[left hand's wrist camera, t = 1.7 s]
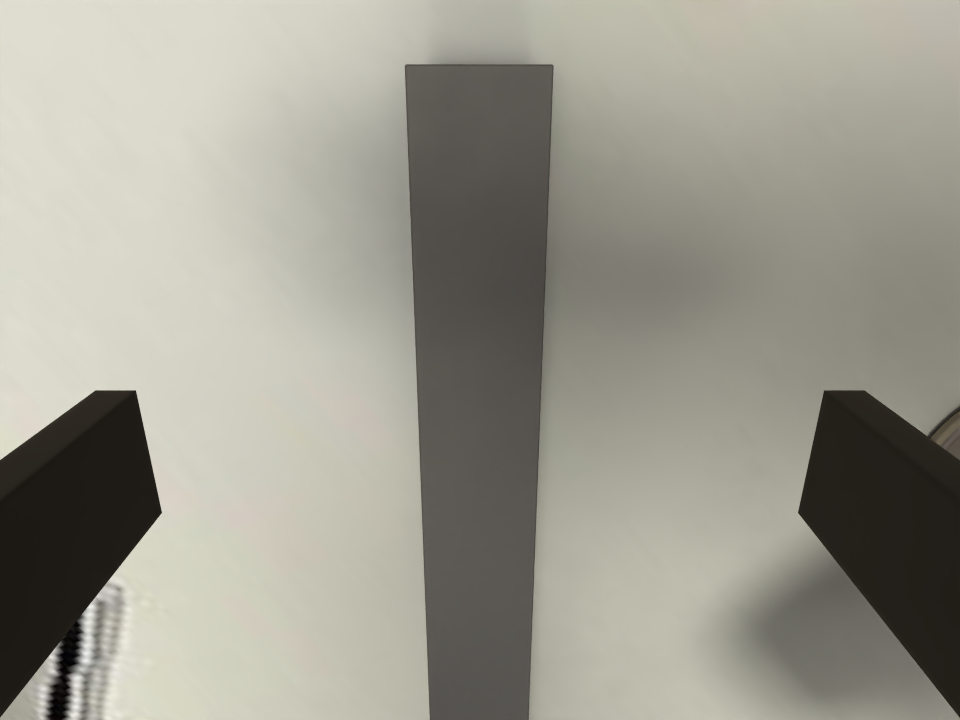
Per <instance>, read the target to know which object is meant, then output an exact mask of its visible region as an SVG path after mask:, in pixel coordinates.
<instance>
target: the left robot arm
mask: <svg viewBox="0 0 960 720" xmlns="http://www.w3.org/2000/svg"><path fill="white" fill-rule="evenodd" d="M161 513H162V511H161V506H160V502H159V497H158V492H157V488H156V483H155V478H154V474H153V469H152V464H151V460H150V455H149V450H148V445H147V441H146V436H145V431H144V427H143V422H142V417H141V413H140V408H139V403H138V399H137V394H136V391H94V392H93V393H92V394H90V395H89V396H87V397H86V398H85V399H83V400H82V401H81V402H79V403H78V404H77V405H75V406H74V407H72V408H71V409H70V410H68V411H67V412H66V413H64V414H63V415H61V416H60V417H59V418H57V419H56V420H55V421H53V422H52V423H50V424H49V425H48V426H46V427H45V428H44V429H42V430H41V431H40V432H38V433H37V434H35V435H34V436H33V437H31V438H30V439H29V440H27V441H26V442H24V443H23V444H22V445H20V446H19V447H18V448H16V449H15V450H13V451H12V452H11V453H9V454H8V455H7V456H5V457H4V458H3V459H1V460H0V717H1V716H2V715H3V713H4V712H5V711H6V709H7V708H8V707H9V706H10V704H11V703H12V702H13V701H14V699H15V698H16V697H17V696H18V694H19V693H20V692H21V690H22V689H23V688H24V687H25V685H26V684H27V683H28V682H29V680H30V679H31V678H32V677H33V675H34V674H35V673H36V671H37V670H38V669H39V668H40V666H41V665H42V664H43V663H44V661H45V660H46V659H47V658H48V656H49V655H50V654H51V652H52V651H53V650H54V649H55V647H56V646H57V645H58V644H59V642H60V641H61V640H62V639H63V637H64V636H65V635H66V633H67V632H68V631H69V630H70V628H71V627H72V626H73V625H74V623H75V622H76V621H77V620H78V618H79V617H80V616H81V615H82V613H83V612H84V611H85V609H86V608H87V607H88V606H89V604H90V603H91V602H92V601H93V599H94V598H95V597H96V596H97V594H98V593H99V592H100V590H101V589H102V588H103V587H104V585H105V584H106V583H107V582H108V580H109V579H110V578H111V577H112V575H113V574H114V573H115V571H116V570H117V569H118V568H119V566H120V565H121V564H122V563H123V561H124V560H125V559H126V558H127V556H128V555H129V554H130V552H131V551H132V550H133V549H134V547H135V546H136V545H137V544H138V542H139V541H140V540H141V539H142V537H143V536H144V535H145V533H146V532H147V531H148V530H149V528H150V527H151V526H152V525H153V523H154V522H155V521H156V520H157V518H158V517H159V516H160V514H161ZM798 513H799V514H800V516H801V517H802V518H803V520H804V521H805V522H806V523H807V525H808V526H809V527H810V528H811V530H812V531H813V532H814V533H815V535H816V536H817V537H818V539H819V540H820V541H821V542H822V544H823V545H824V546H825V547H826V549H827V550H828V551H829V552H830V554H831V555H832V556H833V558H834V559H835V560H836V561H837V563H838V564H839V565H840V566H841V568H842V569H843V570H844V571H845V573H846V574H847V575H848V577H849V578H850V579H851V580H852V582H853V583H854V584H855V585H856V587H857V588H858V589H859V590H860V592H861V593H862V594H863V596H864V597H865V598H866V599H867V601H868V602H869V603H870V604H871V606H872V607H873V608H874V609H875V611H876V612H877V613H878V615H879V616H880V617H881V618H882V620H883V621H884V622H885V623H886V625H887V626H888V627H889V628H890V630H891V631H892V632H893V633H894V635H895V636H896V637H897V639H898V640H899V641H900V642H901V644H902V645H903V646H904V647H905V649H906V650H907V651H908V652H909V654H910V655H911V656H912V658H913V659H914V660H915V661H916V663H917V664H918V665H919V666H920V668H921V669H922V670H923V671H924V673H925V674H926V675H927V677H928V678H929V679H930V680H931V682H932V683H933V684H934V685H935V687H936V688H937V689H938V690H939V692H940V693H941V694H942V696H943V697H944V698H945V699H946V701H947V702H948V703H949V704H950V706H951V707H952V708H953V709H954V711H955V712H956V713H957V715H958V716H959V717H960V411H958V412H957V413H956V414H955V415H953V416H952V417H951V418H950V419H949V420H948V421H946V422H945V423H944V424H943V425H942V426H941V427H940V428H939V429H938V430H937V431H936V432H935V433H934V435H933V436H932V437H931V438H929V437H927V436H926V435H925V434H923V433H922V432H920V431H919V430H918V429H916V428H915V427H914V426H912V425H911V424H910V423H908V422H907V421H905V420H904V419H903V418H901V417H900V416H899V415H897V414H896V413H894V412H893V411H892V410H890V409H889V408H888V407H886V406H885V405H883V404H882V403H881V402H879V401H878V400H877V399H875V398H874V397H873V396H871V395H870V394H868V393H867V392H866V391H824V394H823V399H822V403H821V408H820V413H819V417H818V422H817V427H816V431H815V436H814V441H813V445H812V450H811V455H810V460H809V464H808V469H807V474H806V478H805V483H804V488H803V492H802V497H801V502H800V506H799V511H798Z"/></svg>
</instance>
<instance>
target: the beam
mask: <svg viewBox="0 0 960 720" xmlns="http://www.w3.org/2000/svg"><path fill="white" fill-rule="evenodd" d="M405 80H406V106H407V132H408V158H409V185H410V211H411V237H412V263H413V289H414V315H415V341H416V367H417V394H418V420H419V446H420V472H421V498H422V524H423V550H424V577H425V603H426V629H427V655H428V681H429V707H430V720H528V716H529V689H530V663H531V637H532V611H533V585H534V559H535V533H536V507H537V481H538V455H539V429H540V403H541V376H542V350H543V324H544V298H545V272H546V246H547V220H548V194H549V168H550V142H551V116H552V90H553V65H405Z"/></svg>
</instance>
